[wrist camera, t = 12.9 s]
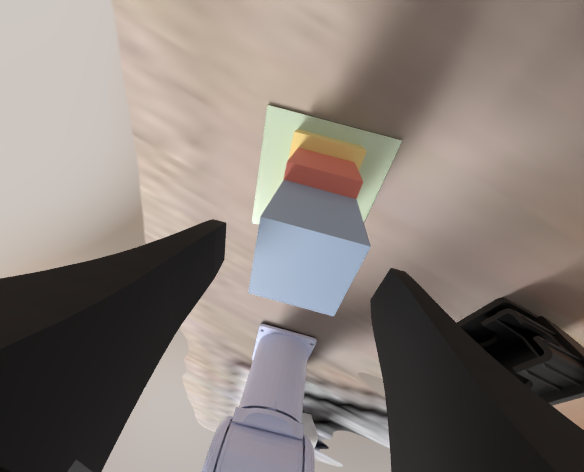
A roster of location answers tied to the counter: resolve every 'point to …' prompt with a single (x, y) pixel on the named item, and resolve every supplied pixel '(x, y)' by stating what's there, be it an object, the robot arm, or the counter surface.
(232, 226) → the counter surface
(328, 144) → the mustard brick
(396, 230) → the counter surface
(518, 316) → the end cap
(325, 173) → the red brick
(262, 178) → the baseplate
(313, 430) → the figurine
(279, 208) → the blue brick
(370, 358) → the counter surface
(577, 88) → the counter surface
